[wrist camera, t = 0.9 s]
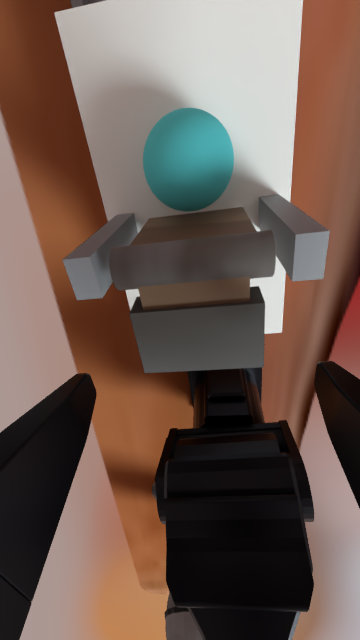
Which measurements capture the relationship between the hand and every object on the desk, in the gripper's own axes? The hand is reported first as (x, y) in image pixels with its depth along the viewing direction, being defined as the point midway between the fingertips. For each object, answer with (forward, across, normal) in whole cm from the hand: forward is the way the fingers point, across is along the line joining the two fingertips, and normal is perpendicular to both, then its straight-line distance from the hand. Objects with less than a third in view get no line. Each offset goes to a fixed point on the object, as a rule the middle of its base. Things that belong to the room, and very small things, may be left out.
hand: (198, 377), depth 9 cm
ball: (+7, 0, -6) cm, 9 cm away
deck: (+13, 0, -3) cm, 13 cm away
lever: (+9, 0, -1) cm, 9 cm away
